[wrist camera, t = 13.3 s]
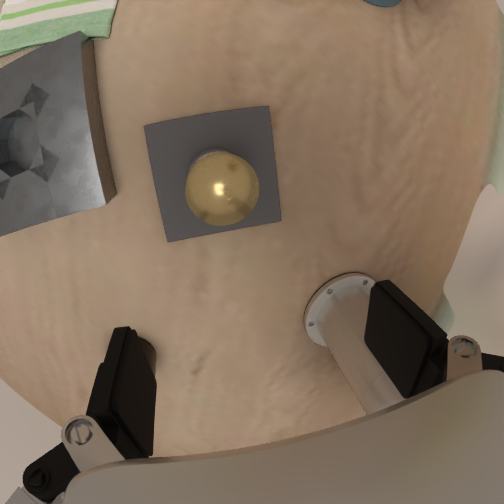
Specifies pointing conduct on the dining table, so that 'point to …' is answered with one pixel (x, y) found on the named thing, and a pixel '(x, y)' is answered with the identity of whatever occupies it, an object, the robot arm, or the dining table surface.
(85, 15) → the dish towel
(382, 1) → the cocktail glass
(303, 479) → the robot arm
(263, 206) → the mat
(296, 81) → the dining table surface
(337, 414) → the dining table surface
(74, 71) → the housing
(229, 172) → the can with gold end
